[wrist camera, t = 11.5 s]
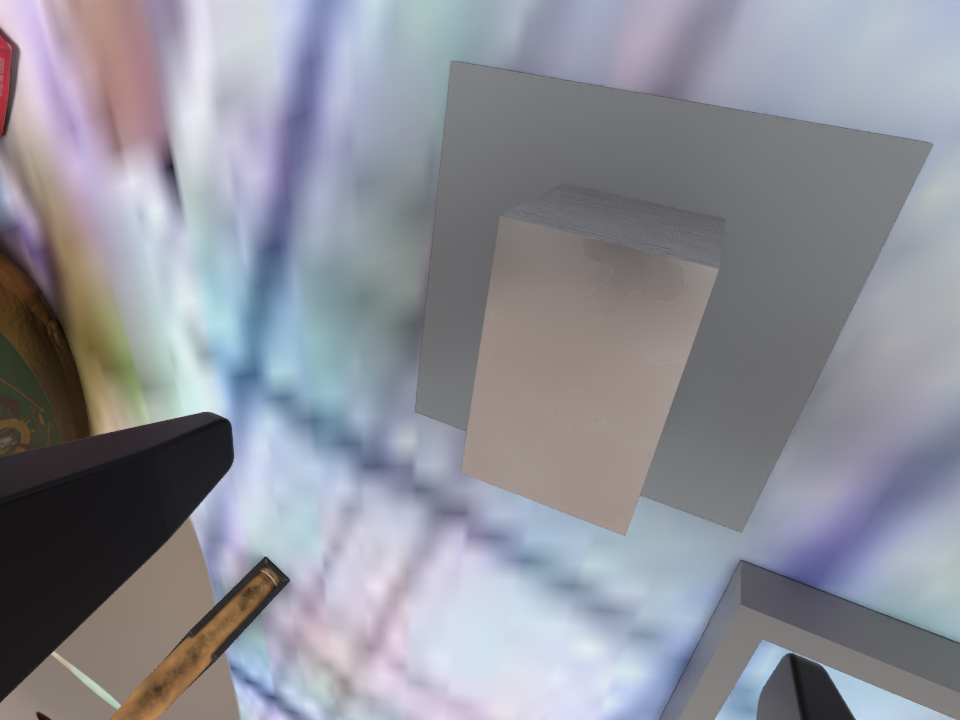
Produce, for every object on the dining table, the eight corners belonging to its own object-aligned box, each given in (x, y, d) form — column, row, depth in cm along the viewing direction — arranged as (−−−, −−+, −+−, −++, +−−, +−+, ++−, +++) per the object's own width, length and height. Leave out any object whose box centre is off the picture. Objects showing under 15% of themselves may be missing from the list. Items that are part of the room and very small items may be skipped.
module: (725, 218, 15) (719, 269, 11) (651, 434, 18) (624, 535, 14) (562, 182, 16) (500, 215, 12) (520, 390, 20) (460, 472, 15)
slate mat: (927, 142, 13) (933, 144, 13) (741, 522, 19) (741, 532, 18) (458, 61, 17) (450, 60, 16) (420, 405, 22) (414, 412, 22)
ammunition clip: (224, 644, 37) (30, 853, 27) (204, 624, 37) (1, 826, 27) (290, 579, 31) (72, 817, 21) (266, 555, 31) (35, 781, 21)
